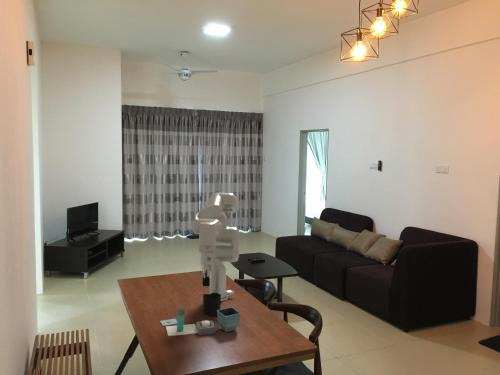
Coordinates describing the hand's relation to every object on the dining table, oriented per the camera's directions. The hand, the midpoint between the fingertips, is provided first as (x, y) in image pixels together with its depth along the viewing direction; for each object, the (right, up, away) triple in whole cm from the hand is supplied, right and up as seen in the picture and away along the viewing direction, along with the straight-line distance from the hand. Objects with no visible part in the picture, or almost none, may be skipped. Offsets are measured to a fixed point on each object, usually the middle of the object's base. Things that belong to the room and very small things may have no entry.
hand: (206, 285), depth 196 cm
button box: (0, -22, +1) cm, 22 cm away
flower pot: (+10, -22, +4) cm, 25 cm away
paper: (-12, -22, +1) cm, 25 cm away
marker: (-13, -21, 0) cm, 25 cm away
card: (-20, -21, +9) cm, 30 cm away
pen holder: (0, -21, +22) cm, 30 cm away
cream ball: (0, -21, +1) cm, 21 cm away
